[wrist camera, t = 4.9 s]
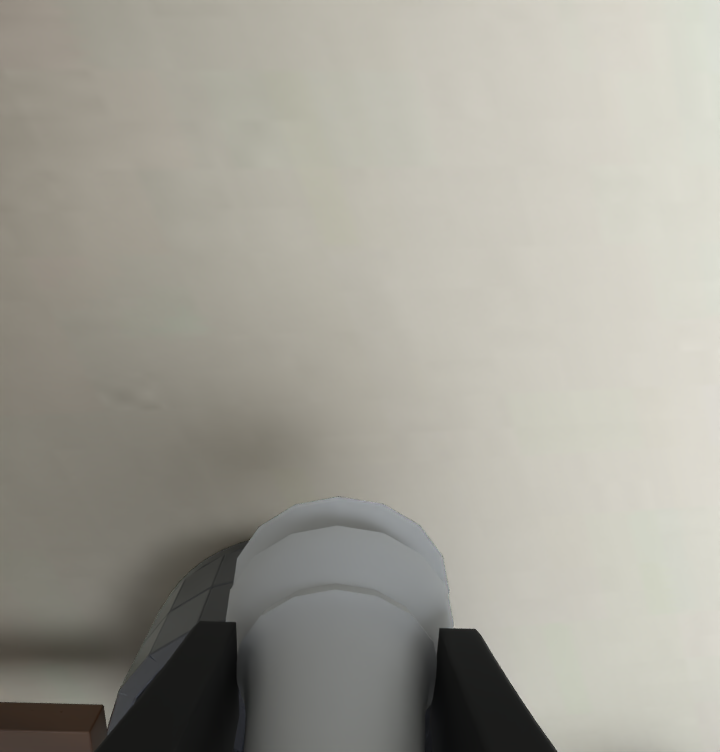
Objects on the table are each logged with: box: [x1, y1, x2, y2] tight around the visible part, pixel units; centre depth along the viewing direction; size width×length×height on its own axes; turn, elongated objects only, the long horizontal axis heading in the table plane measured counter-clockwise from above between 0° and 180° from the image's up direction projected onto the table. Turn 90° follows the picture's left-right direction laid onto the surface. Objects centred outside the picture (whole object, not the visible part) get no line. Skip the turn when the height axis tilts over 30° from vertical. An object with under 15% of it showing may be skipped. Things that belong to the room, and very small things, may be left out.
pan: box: [107, 541, 433, 752], centre depth 18 cm, size 11×11×4 cm
